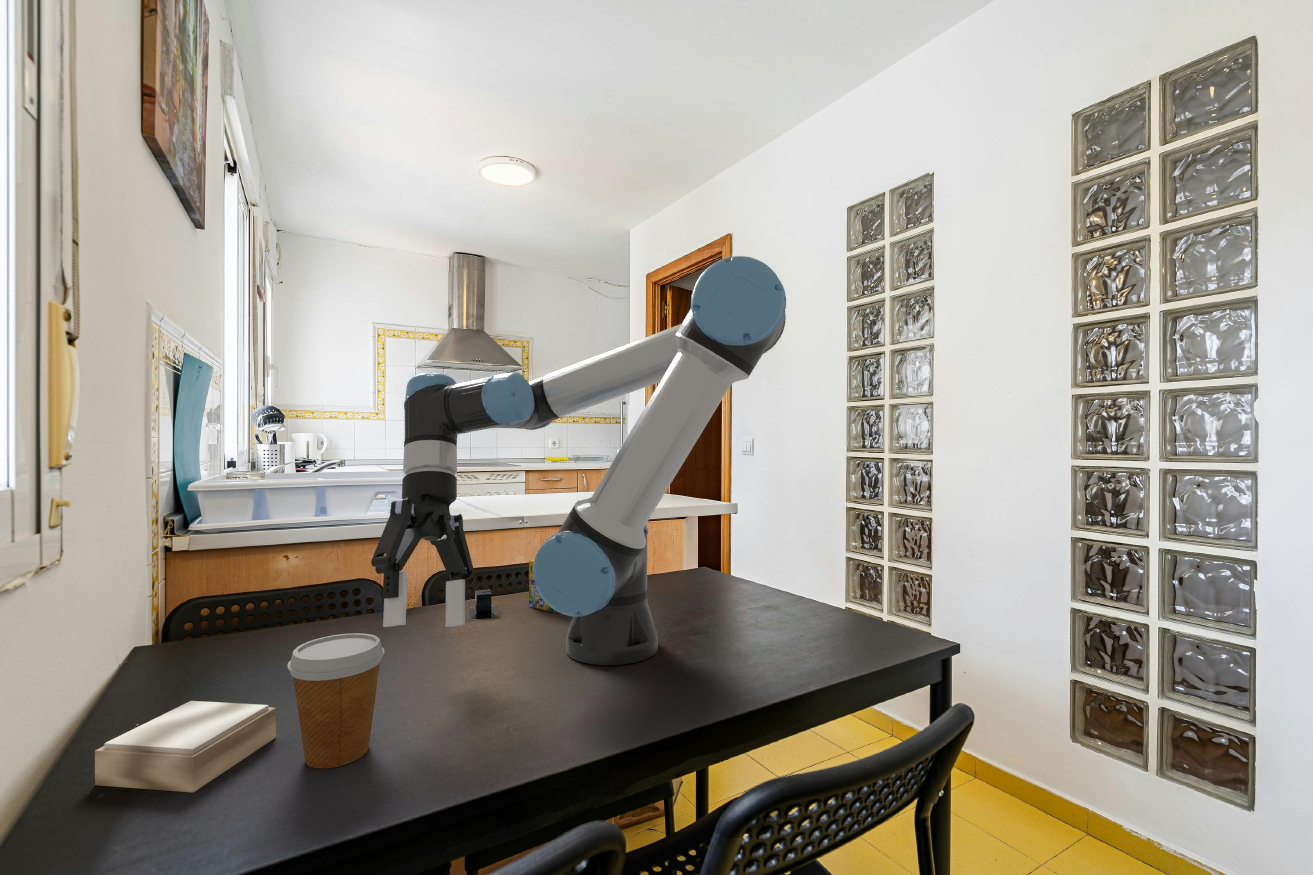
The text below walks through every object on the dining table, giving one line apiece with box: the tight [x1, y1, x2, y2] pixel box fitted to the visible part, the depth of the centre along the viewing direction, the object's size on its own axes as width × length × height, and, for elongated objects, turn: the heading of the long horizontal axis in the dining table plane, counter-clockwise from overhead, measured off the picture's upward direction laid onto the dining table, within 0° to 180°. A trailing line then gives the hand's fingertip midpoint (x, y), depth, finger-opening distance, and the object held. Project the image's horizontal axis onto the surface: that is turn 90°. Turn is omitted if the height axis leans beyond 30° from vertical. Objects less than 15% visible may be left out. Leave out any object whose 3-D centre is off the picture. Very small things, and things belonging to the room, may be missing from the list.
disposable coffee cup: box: [287, 632, 385, 769], centre depth 67 cm, size 10×10×12 cm
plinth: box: [94, 700, 277, 793], centre depth 66 cm, size 11×11×4 cm
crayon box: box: [528, 558, 557, 613], centre depth 124 cm, size 7×3×12 cm, turn 55°
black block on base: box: [467, 589, 500, 620], centre depth 122 cm, size 12×7×5 cm, turn 19°
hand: (427, 626), depth 82 cm, fingers open, 13 cm apart
